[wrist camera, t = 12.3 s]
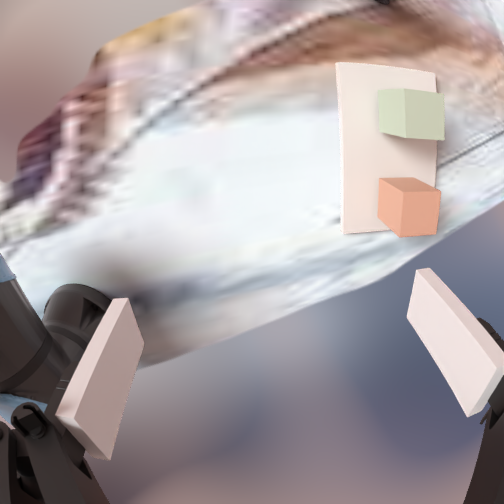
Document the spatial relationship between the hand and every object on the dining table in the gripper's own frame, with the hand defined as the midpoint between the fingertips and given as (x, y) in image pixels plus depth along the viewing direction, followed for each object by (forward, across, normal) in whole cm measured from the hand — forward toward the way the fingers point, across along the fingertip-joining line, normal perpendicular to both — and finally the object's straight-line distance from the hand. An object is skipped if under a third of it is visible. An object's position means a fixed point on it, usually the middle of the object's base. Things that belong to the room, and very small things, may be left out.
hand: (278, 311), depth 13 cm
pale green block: (+24, +18, +8) cm, 31 cm away
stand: (+27, +18, +3) cm, 32 cm away
